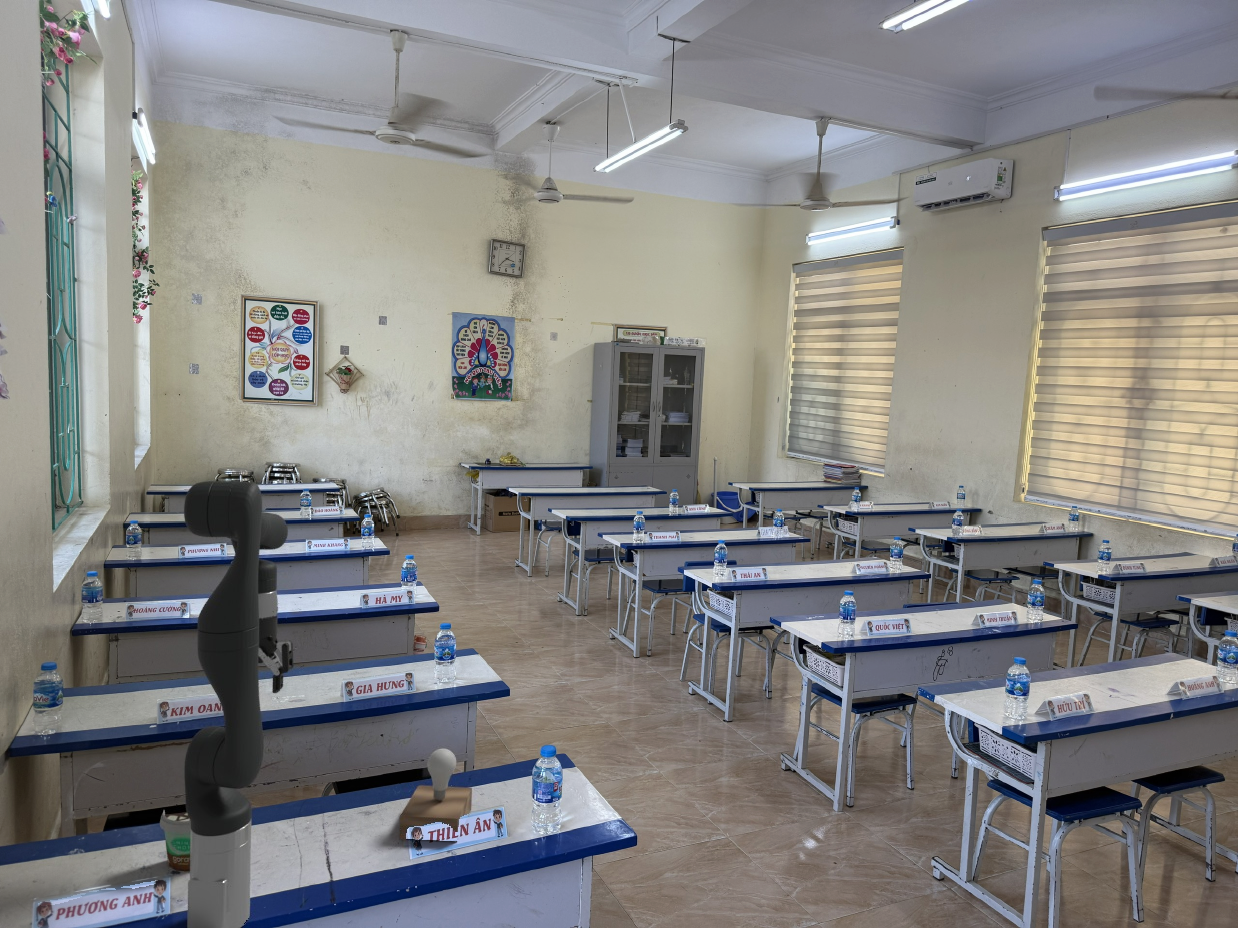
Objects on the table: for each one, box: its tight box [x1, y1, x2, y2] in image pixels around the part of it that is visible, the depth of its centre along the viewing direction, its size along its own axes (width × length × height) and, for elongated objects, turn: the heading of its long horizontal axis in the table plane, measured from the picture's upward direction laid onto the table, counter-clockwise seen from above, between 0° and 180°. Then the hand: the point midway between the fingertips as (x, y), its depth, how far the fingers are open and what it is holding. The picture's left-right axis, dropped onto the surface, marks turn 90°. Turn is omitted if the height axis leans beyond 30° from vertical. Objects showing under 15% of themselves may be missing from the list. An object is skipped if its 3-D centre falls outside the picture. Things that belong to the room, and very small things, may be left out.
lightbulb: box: [426, 748, 457, 801], centre depth 170 cm, size 6×6×11 cm
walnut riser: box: [398, 784, 473, 841], centre depth 169 cm, size 14×12×5 cm
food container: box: [159, 809, 191, 873], centre depth 150 cm, size 12×6×10 cm, turn 105°
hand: (255, 690), depth 161 cm, fingers open, 8 cm apart
